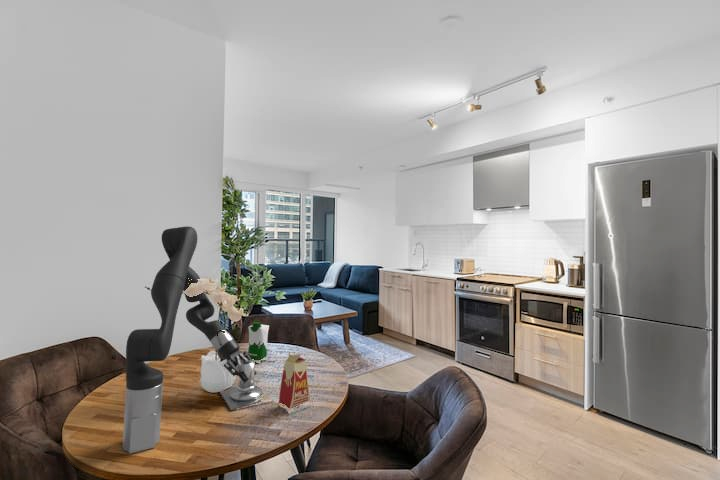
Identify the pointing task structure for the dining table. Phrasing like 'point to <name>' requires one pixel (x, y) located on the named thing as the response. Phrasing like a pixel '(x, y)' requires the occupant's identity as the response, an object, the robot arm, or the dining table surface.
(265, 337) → the soya milk
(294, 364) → the milk carton
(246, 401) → the plate on grey tray
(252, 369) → the hub
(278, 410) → the dining table surface
